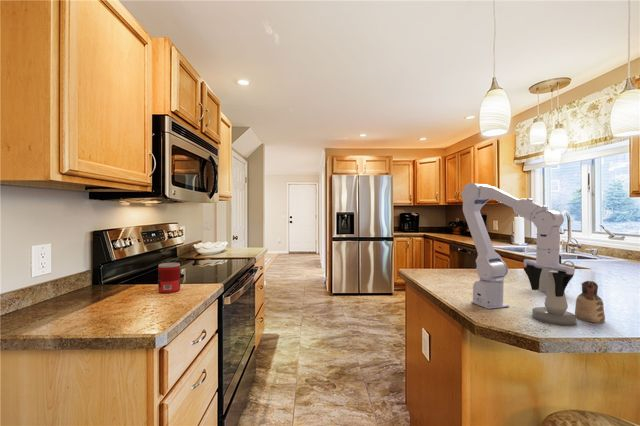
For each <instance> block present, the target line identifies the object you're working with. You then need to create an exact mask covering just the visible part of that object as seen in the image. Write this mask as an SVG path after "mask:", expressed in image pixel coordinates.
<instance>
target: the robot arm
mask: <svg viewBox="0 0 640 426" xmlns="http://www.w3.org/2000/svg"><path fill="white" fill-rule="evenodd" d="M460 194H461V197H462V213H463V215H464V219H465V221H466V223H467V226H468V230H469V232H470V235H471V238H472V241H473V243H474V246H475V249H476V252H477V257H476V259H475V263H476V264H475V265H476V274H477V276H478V277H479V279H478V280H476V281H475V282H474V283H473V286H472V300H471V301H470V302H471V303H473V304H474V305H477V306H480V307H482V308H484V309H499V308H508V307H510V305H509V304H507V303H505V302H504V285H505V284H504V281H505V277H506V276H507V275H508V273H509V268H508V265H507V264H506V262H505V261H503V259H502V256H501V255H500V254H499V253H498V252H496V251H495V248H494V246H493V243H492V240H491V238H490V235H489V233H488V230H487V226H486V225H485V221H484V218H483V217H482V214H481V210H482V208H483V207H484V205H486V204H487V203H488V202H489V201H490V200H494V201H497V202H499V203H501V204H503V205H506V206H508V207H510V208H512V210H513V212H514V214H516V215H517V216H519V217H522V218H523V219H525V220H527V221H530V222H531V223H533V225H534V227H536V250H535V251H536V256H535V257H536V259H528V258H527V259H523V266H525V267H523V270H524V272H525V274H526V276H527V278H528V281H529V284H530V287H531V290H532V291H540V290H539V280H540V275H541V271H542V269H547V270H552V271H557V272H558V273H552V275H553V277H554V282H555V295H556V296H557V297H562V296H563V294H564V291H566V288H567V287H568V284H569V283H570V281H571V280H572V278H573V277H574V275H575V272H574V270H575V269H576V268H574V267H573V266H569V265H563V263H561V264H560V263H559V255H560V239H561V238H560V230H561V226H562V225H563V224H564V222H565V219H564V215H563V214H562V213H561V212H560V211H559V210H557V209H548V206H547V205H541V204H539V203H536V202H535V201H534V199H533V198H530V197H528V198H526V197H525V198H524V197H523V198H520V199H519V198H517V197H515V196H513V195H511V194H509V193H508V192H505V191H503V190H502V189H500V188H497V187H496V186H492V185H490V184H488V183H474V182H470V183H469V182H468V183H466V185H465V186H464V188H463V189H462V190H461V193H460ZM547 267H549V268H547ZM575 271H576V270H575ZM573 274H574V275H573Z"/></svg>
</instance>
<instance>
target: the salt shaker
mask: <svg viewBox="0 0 640 426" xmlns="http://www.w3.org/2000/svg"><path fill="white" fill-rule="evenodd" d="M552 273H558V272H557V271H549V272H548V277H549V278H550V281H549V286H548V290H547V292H546V295H545V300H544V306H545V307H546V309H547V311H548V312H549V313H551V314H556V315H564V313H565V311H567V310H568V308H569V306H568V301H567V297H566V292H565V291H566V290H565V291H564V294H563V296H562V297H557V296H556V295H555V282H554V277H553V275H552Z"/></svg>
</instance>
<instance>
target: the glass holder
mask: <svg viewBox="0 0 640 426" xmlns="http://www.w3.org/2000/svg"><path fill="white" fill-rule="evenodd" d="M559 263H560V264H562V265H565V264H566V263H570V264H571V265H572V267H574V268H575V267H576V266H575V263H574V262H573V261H571V260H565V261H564V262H563V263H562V255H560V254H559ZM547 268H549V267H547ZM575 269H576V268H575ZM549 271H552V270H547V269H542V271H541V275H540V280H539V290H538V291H540V290H541V291H540V292H544V291H545V292H544V293H547V290H548V286H549V281H550V278H549V277H548V272H549ZM575 271H576V270H574V274H573V276H574V275H575Z"/></svg>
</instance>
